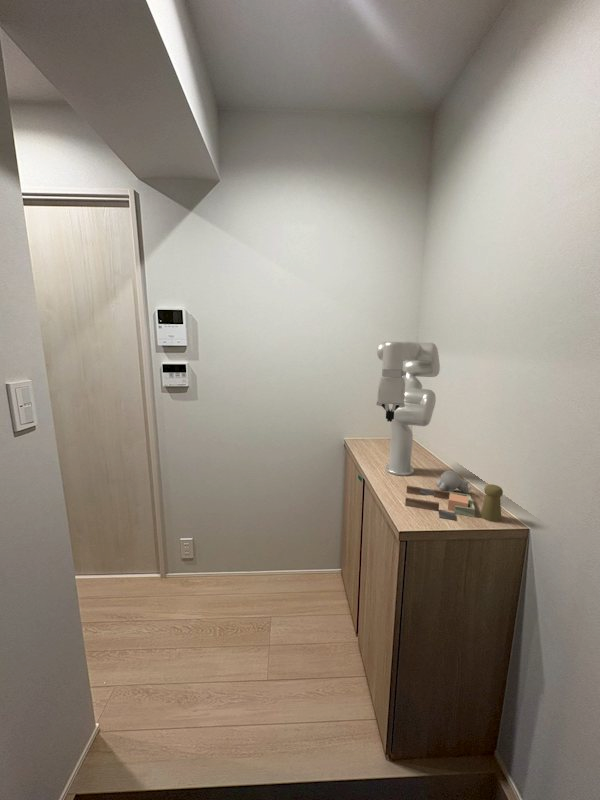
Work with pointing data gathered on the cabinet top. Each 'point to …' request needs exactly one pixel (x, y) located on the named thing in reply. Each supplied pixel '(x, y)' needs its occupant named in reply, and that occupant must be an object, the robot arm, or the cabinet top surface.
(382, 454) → the cabinet top surface
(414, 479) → the cabinet top surface
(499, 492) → the cork
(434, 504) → the trap lane
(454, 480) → the toy rhinoceros
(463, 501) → the salmon block
